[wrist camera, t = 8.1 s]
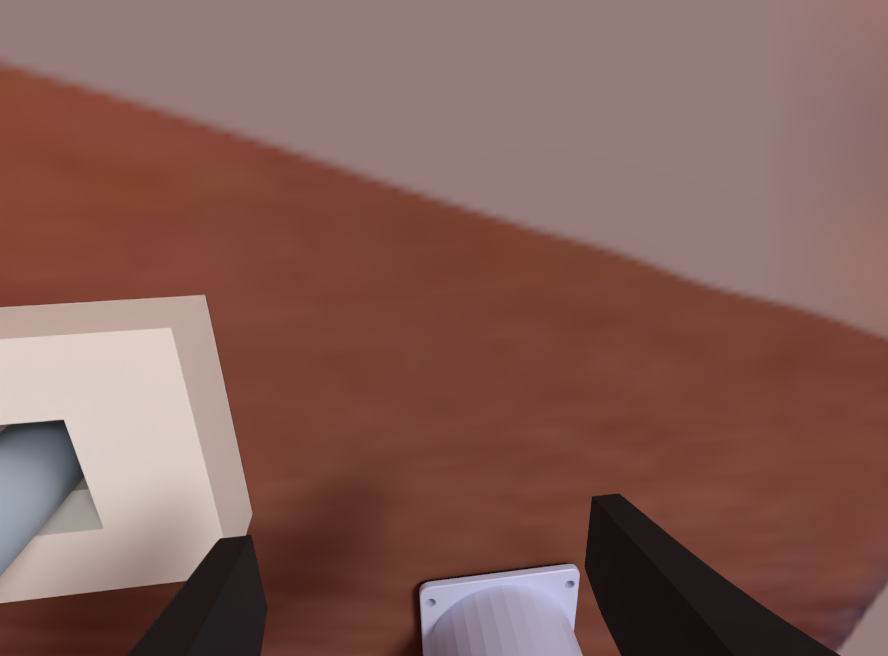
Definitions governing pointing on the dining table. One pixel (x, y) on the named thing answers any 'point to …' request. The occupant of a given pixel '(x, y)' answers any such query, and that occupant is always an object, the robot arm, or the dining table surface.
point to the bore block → (124, 441)
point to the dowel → (33, 481)
